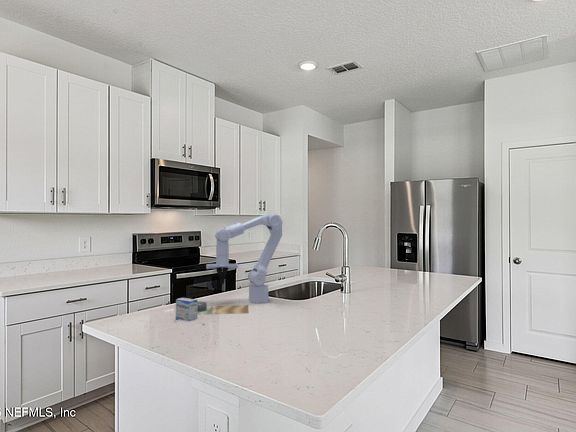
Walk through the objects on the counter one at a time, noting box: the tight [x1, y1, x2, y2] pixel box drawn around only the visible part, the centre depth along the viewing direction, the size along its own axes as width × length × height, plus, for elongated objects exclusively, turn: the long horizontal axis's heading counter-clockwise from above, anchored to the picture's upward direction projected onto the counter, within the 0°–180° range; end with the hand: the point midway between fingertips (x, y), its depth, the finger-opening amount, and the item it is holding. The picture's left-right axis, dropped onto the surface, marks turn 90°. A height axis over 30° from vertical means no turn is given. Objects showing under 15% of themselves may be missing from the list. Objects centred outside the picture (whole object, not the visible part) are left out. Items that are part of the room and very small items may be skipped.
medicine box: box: [175, 297, 199, 322], centre depth 152 cm, size 8×4×9 cm, turn 62°
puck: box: [197, 301, 208, 312], centre depth 165 cm, size 6×6×3 cm
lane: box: [197, 304, 249, 316], centre depth 165 cm, size 28×14×1 cm, turn 97°
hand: (222, 284), depth 175 cm, fingers closed
